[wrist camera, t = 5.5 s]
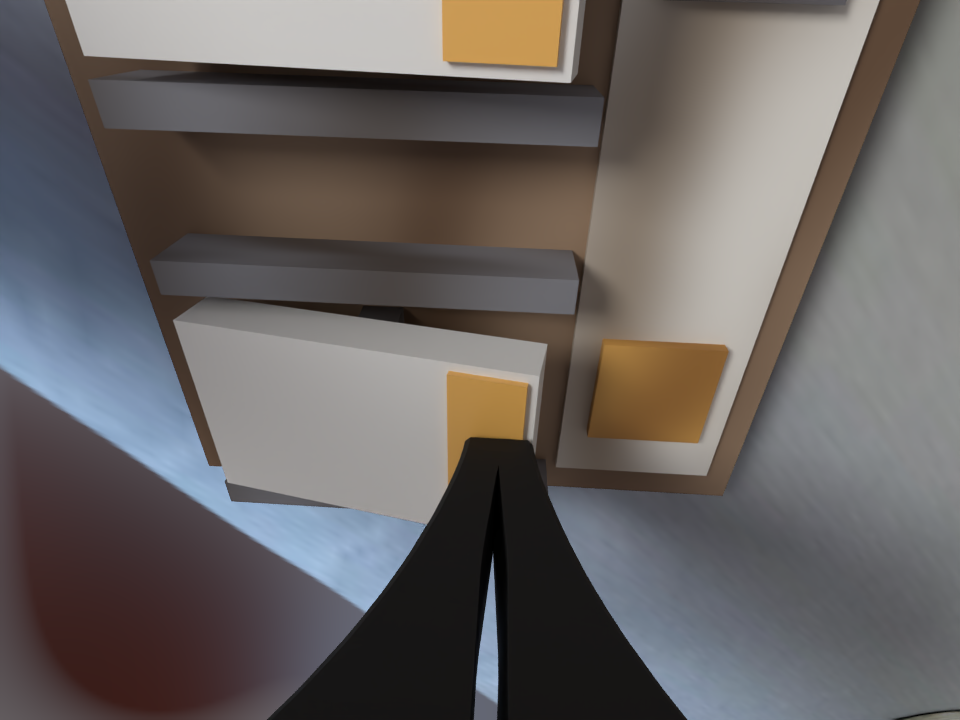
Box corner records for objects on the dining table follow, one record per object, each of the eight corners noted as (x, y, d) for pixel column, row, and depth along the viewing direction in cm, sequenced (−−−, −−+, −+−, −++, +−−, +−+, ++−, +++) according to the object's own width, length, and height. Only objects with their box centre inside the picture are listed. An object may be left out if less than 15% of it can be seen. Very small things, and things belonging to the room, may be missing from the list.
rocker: (253, 452, 15) (224, 486, 14) (208, 295, 13) (167, 323, 12) (529, 506, 14) (520, 549, 13) (547, 344, 11) (538, 380, 10)
